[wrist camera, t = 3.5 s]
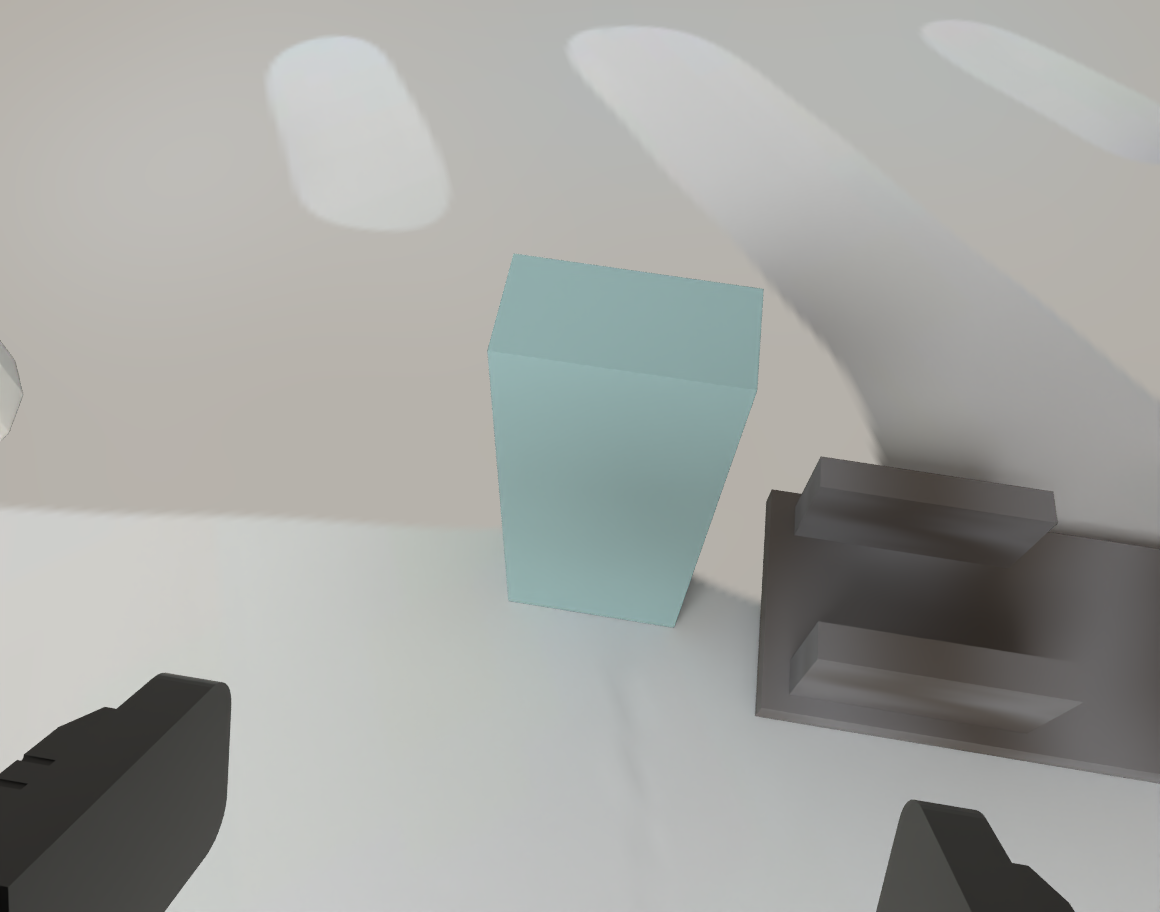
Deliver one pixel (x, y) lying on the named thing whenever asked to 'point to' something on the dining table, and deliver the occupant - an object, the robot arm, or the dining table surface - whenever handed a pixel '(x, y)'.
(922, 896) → the robot arm
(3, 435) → the white cup
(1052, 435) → the dining table surface
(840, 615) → the hinge cabinet
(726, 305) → the tall teal block
